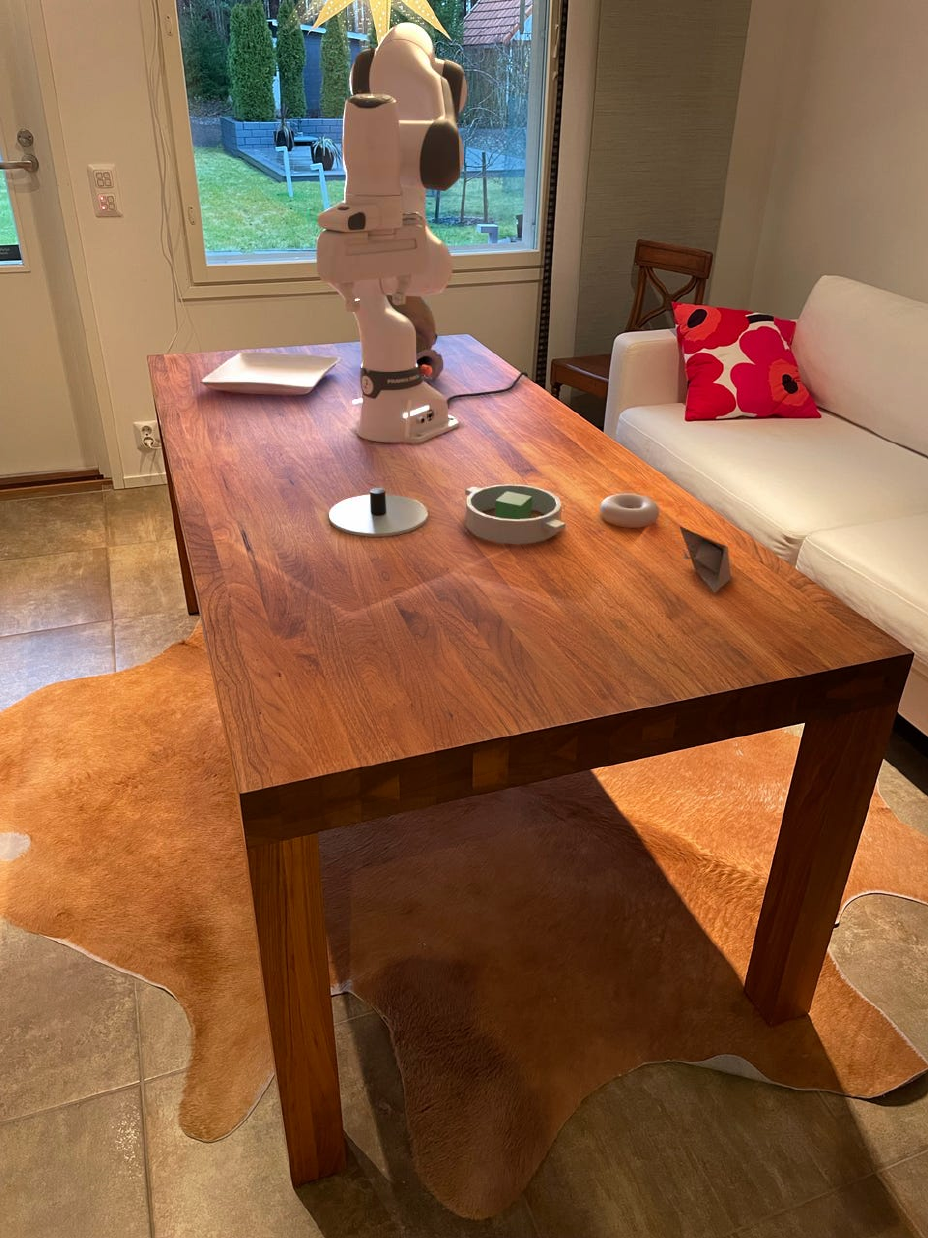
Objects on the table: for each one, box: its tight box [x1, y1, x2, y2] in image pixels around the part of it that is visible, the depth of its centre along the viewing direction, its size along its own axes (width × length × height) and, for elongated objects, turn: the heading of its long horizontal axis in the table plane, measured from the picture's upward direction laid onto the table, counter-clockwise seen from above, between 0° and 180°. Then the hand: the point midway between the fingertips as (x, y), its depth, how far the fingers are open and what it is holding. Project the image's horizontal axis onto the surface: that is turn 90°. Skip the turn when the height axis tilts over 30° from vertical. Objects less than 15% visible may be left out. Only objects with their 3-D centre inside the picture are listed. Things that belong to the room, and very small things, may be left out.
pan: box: [464, 483, 567, 545], centre depth 153 cm, size 16×21×4 cm
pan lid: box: [328, 487, 429, 538], centre depth 154 cm, size 17×17×5 cm
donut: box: [599, 492, 660, 529], centre depth 156 cm, size 10×4×10 cm
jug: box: [386, 295, 445, 381], centre depth 235 cm, size 20×20×30 cm
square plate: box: [200, 352, 341, 396], centre depth 225 cm, size 27×27×4 cm
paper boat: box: [678, 525, 732, 594], centre depth 138 cm, size 12×6×9 cm
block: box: [494, 491, 532, 519], centre depth 152 cm, size 5×5×5 cm
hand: (376, 307), depth 148 cm, fingers open, 8 cm apart
